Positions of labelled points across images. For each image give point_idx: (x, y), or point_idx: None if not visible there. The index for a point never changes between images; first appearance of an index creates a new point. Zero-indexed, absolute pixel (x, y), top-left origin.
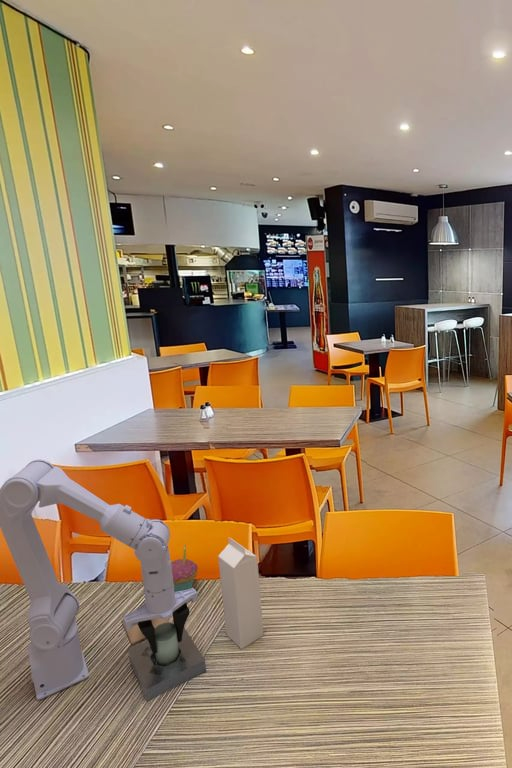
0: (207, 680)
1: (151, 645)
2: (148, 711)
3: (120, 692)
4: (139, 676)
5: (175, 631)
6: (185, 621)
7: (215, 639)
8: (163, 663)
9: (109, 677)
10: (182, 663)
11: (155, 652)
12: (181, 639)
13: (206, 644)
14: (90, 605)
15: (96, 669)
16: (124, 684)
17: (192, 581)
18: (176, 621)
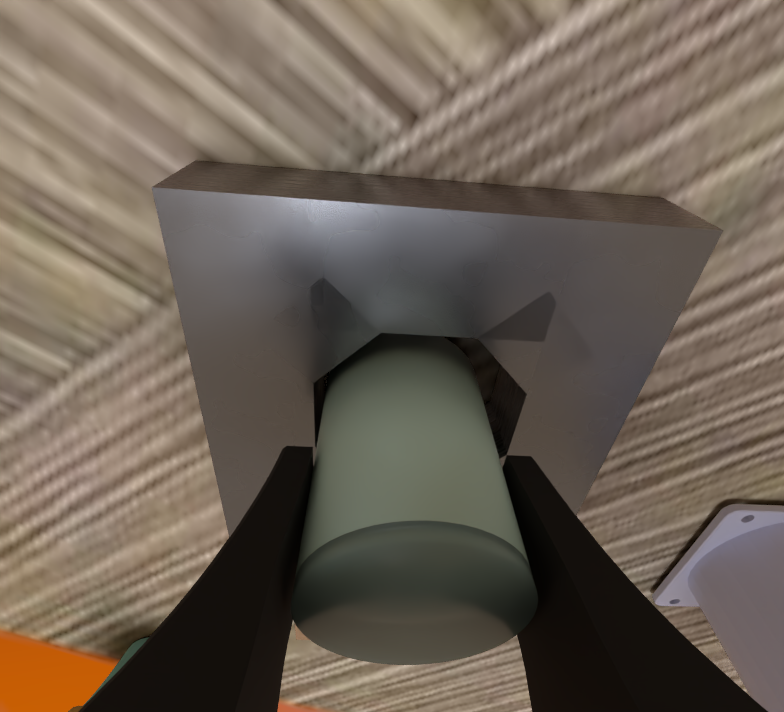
0: (212, 55)
1: (595, 540)
2: (717, 105)
3: (704, 358)
4: (646, 368)
5: (318, 566)
6: (138, 659)
7: (67, 363)
8: (464, 369)
9: (668, 459)
10: (351, 281)
11: (522, 462)
12: (281, 458)
13: (136, 363)
14: (499, 700)
15: (670, 517)
16: (654, 389)
17: (111, 676)
18: (262, 680)
